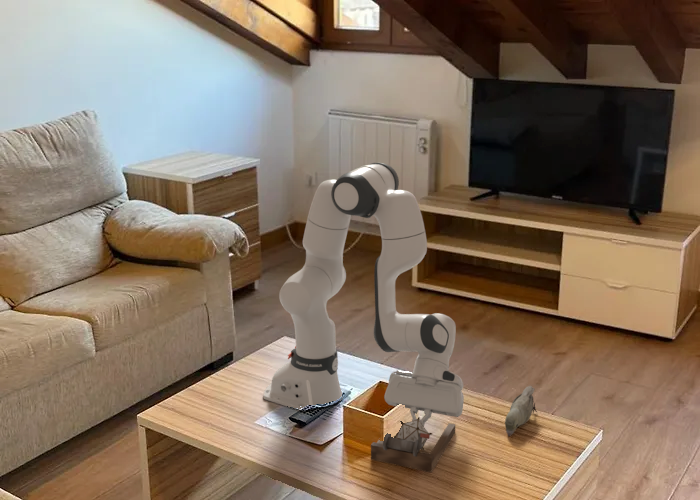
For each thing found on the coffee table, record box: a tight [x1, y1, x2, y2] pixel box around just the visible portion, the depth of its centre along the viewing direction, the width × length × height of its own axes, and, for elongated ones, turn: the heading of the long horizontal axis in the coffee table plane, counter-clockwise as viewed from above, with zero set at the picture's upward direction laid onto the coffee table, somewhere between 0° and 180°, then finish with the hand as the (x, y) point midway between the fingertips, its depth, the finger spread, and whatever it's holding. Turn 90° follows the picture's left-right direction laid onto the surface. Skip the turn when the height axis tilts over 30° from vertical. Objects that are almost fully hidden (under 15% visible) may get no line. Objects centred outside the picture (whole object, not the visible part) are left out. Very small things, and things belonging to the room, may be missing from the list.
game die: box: [394, 416, 433, 451], centre depth 208 cm, size 9×8×10 cm
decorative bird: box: [504, 385, 538, 437], centre depth 220 cm, size 5×16×7 cm, turn 149°
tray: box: [370, 423, 456, 473], centre depth 209 cm, size 16×21×10 cm
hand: (417, 426), depth 212 cm, fingers closed, pressing on game die
